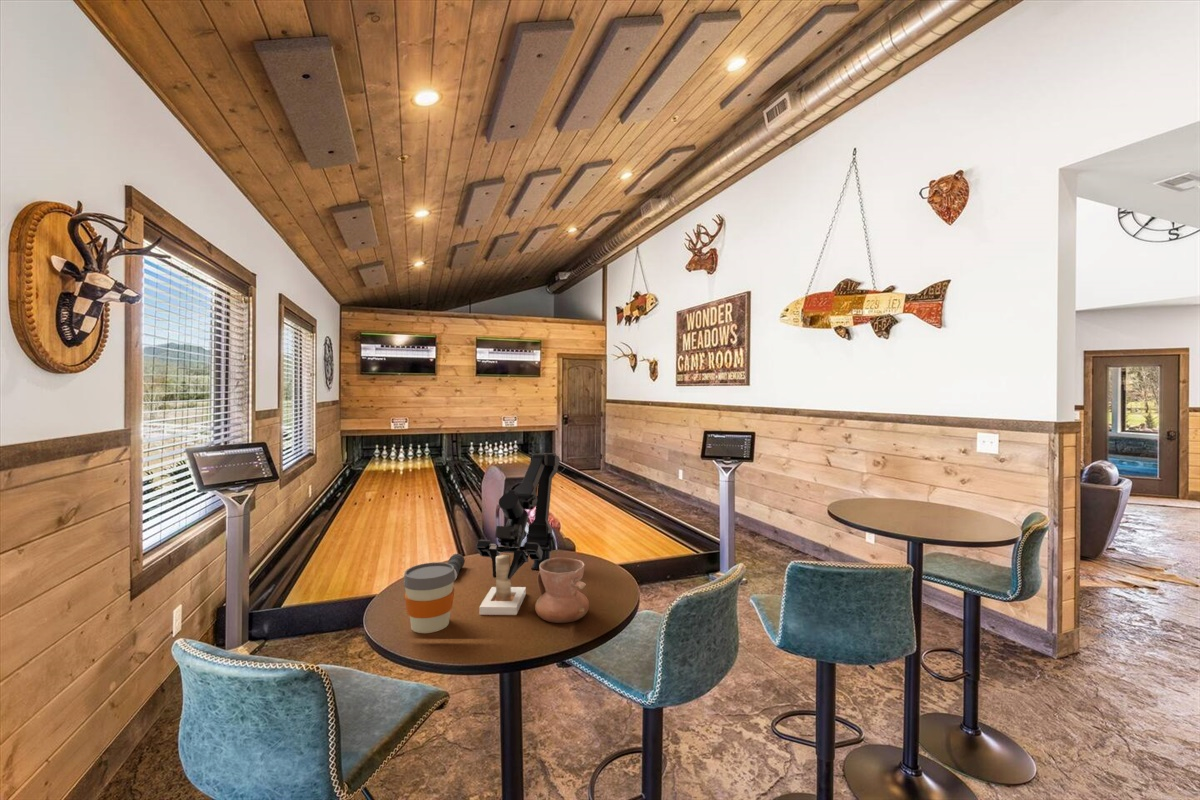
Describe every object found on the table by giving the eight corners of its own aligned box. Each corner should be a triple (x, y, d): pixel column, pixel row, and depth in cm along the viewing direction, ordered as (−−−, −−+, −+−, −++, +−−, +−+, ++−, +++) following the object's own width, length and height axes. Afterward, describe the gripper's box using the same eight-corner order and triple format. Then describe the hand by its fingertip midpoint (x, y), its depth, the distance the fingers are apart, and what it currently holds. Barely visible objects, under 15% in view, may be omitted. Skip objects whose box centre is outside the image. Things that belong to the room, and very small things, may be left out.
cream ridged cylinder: (494, 598, 145) (494, 556, 145) (508, 595, 147) (508, 553, 146) (498, 603, 141) (497, 560, 141) (512, 600, 143) (512, 558, 143)
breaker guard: (491, 597, 151) (491, 586, 151) (525, 597, 151) (525, 587, 151) (479, 618, 137) (479, 607, 137) (516, 618, 137) (516, 607, 137)
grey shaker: (449, 567, 177) (449, 552, 177) (465, 567, 178) (465, 551, 178) (439, 584, 162) (439, 567, 162) (456, 583, 162) (456, 566, 162)
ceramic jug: (603, 618, 137) (603, 565, 137) (562, 636, 127) (561, 579, 126) (560, 598, 150) (559, 550, 149) (519, 614, 140) (518, 562, 139)
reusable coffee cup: (437, 613, 140) (437, 558, 140) (465, 626, 132) (465, 568, 132) (394, 630, 131) (393, 571, 130) (421, 645, 123) (420, 583, 122)
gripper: (477, 511, 149) (460, 562, 139) (539, 514, 145) (525, 566, 135) (489, 531, 157) (473, 580, 147) (547, 534, 153) (536, 585, 143)
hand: (501, 577), depth 143 cm, fingers closed on cream ridged cylinder, 4 cm apart
